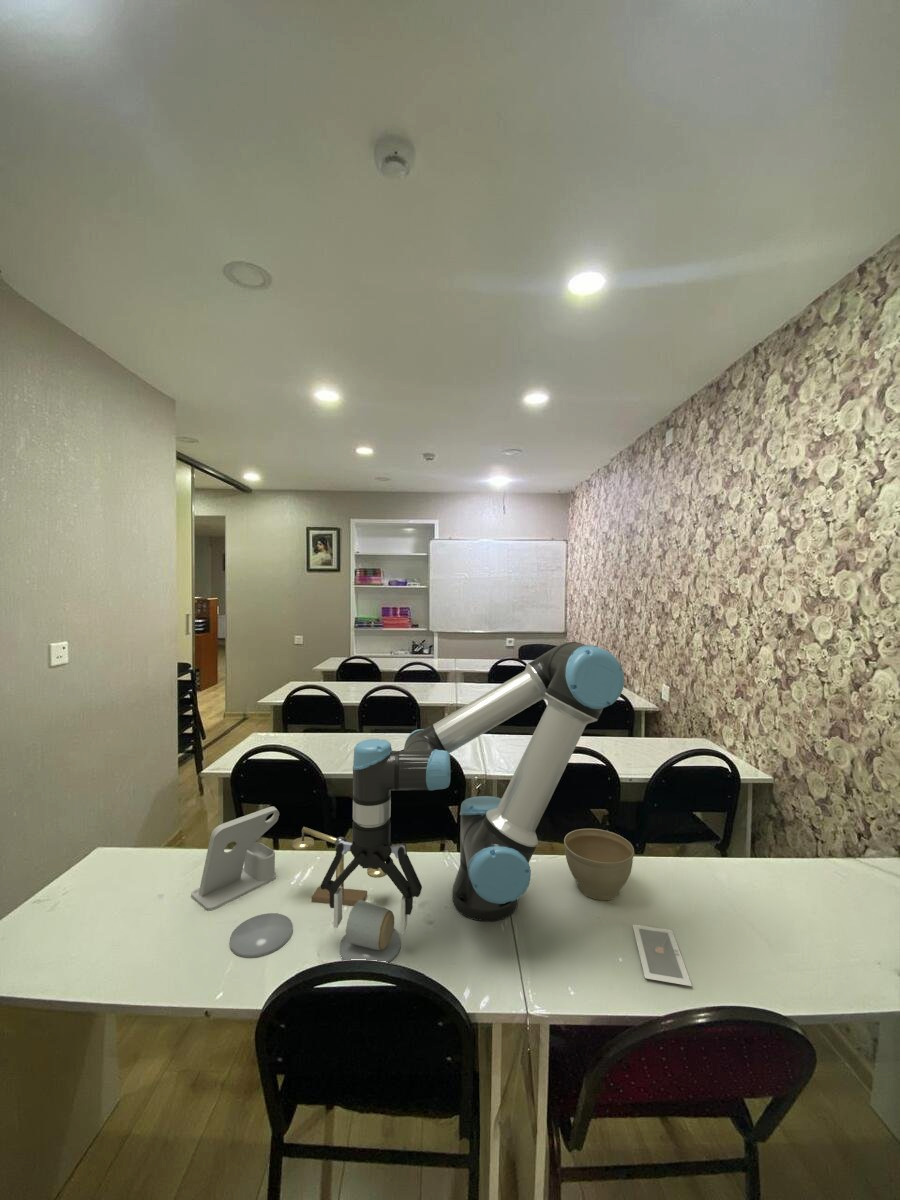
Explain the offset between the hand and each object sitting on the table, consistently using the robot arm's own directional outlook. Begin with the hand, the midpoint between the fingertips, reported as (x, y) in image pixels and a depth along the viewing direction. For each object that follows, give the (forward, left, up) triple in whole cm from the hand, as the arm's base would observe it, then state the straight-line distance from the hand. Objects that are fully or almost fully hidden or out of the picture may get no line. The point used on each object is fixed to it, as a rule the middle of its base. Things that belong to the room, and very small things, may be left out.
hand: (370, 926), depth 94 cm
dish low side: (0, 0, -4) cm, 4 cm away
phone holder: (+38, -15, -4) cm, 41 cm away
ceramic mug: (0, -1, -3) cm, 4 cm away
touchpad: (-57, -5, -5) cm, 57 cm away
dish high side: (+23, 0, -4) cm, 23 cm away
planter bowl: (-49, -26, -4) cm, 56 cm away
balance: (+12, -14, -4) cm, 19 cm away
